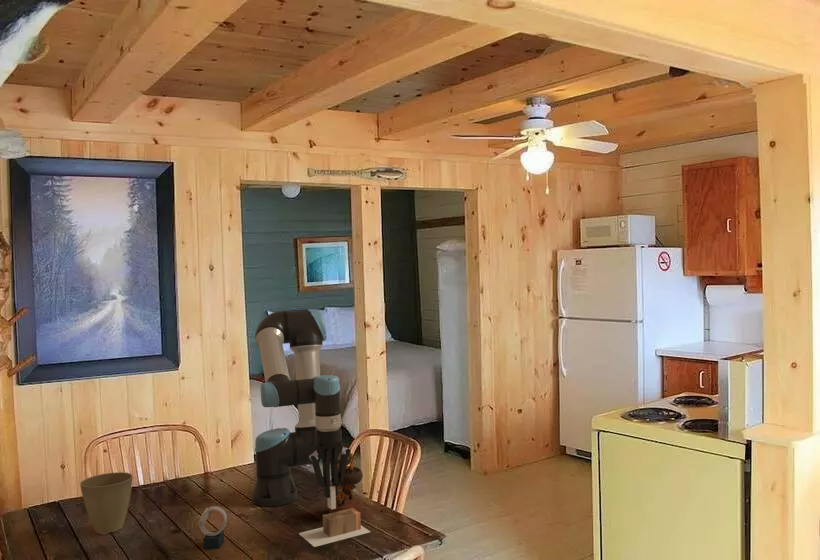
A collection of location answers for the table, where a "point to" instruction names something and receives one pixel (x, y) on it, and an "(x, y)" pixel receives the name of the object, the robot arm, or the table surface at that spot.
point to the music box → (348, 489)
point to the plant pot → (107, 500)
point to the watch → (212, 537)
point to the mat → (320, 538)
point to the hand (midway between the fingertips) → (331, 507)
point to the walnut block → (341, 522)
